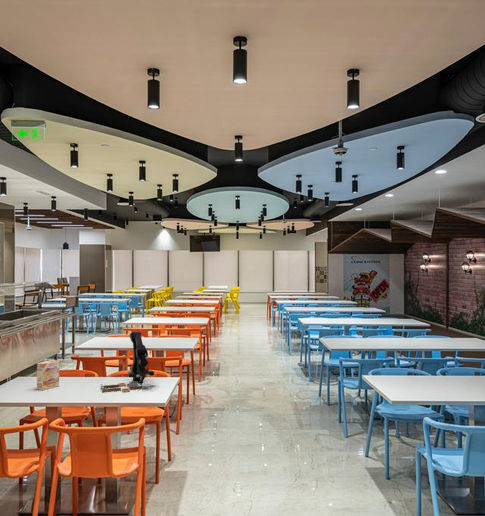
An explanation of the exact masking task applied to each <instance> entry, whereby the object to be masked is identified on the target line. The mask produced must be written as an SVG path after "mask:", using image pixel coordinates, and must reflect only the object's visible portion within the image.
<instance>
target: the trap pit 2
mask: <svg viewBox="0 0 485 516" xmlns="http://www.w3.org/2000/svg"><path fill="white" fill-rule="evenodd" d="M121 392H122V393H130V392H131V390H130V389H129V387H127V388H126V387H125V388H121Z"/></svg>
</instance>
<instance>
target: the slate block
mask: <svg viewBox="0 0 485 516" xmlns="http://www.w3.org/2000/svg"><path fill="white" fill-rule="evenodd" d="M128 384H129V387H135V386H139V383H138V382H137V381H136V382H132V381H129V382H128ZM129 387H128V388H129Z"/></svg>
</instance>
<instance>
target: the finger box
mask: <svg viewBox="0 0 485 516" xmlns="http://www.w3.org/2000/svg"><path fill="white" fill-rule="evenodd" d="M126 387H127V388H129V389H130V391H134V390H141V385H138V386H135V387H129V383H126ZM100 391H101V392H102V394H103V393H110V392H111V393H112V392H122V387H119V384H117V383H116V384H108V385H107V384H104V385H103V384H100Z"/></svg>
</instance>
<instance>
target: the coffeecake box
mask: <svg viewBox="0 0 485 516" xmlns="http://www.w3.org/2000/svg"><path fill="white" fill-rule="evenodd" d="M36 365H37V366H36V367H37V368H36V390H37V389H38V390H39V391H46V390H51V389H53V388H58V387H60V360H58V359H49V360H45V361H41V362H37V363H36ZM57 386H58V387H57Z"/></svg>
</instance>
